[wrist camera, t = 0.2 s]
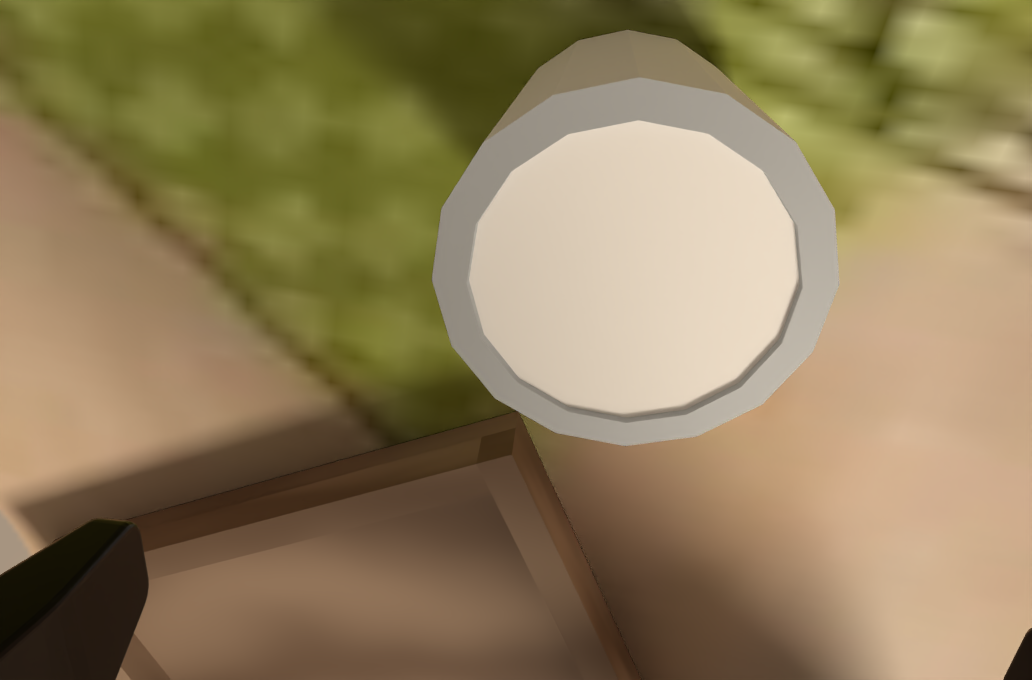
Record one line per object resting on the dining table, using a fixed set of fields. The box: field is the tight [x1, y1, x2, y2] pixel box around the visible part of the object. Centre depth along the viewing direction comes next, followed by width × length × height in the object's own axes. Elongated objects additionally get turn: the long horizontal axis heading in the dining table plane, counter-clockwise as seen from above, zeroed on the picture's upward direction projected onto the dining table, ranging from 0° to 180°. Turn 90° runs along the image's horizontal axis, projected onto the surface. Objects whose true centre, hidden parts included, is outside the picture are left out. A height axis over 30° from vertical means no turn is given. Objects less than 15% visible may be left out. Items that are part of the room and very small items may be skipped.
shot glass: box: [432, 30, 839, 446], centre depth 18 cm, size 7×7×7 cm
